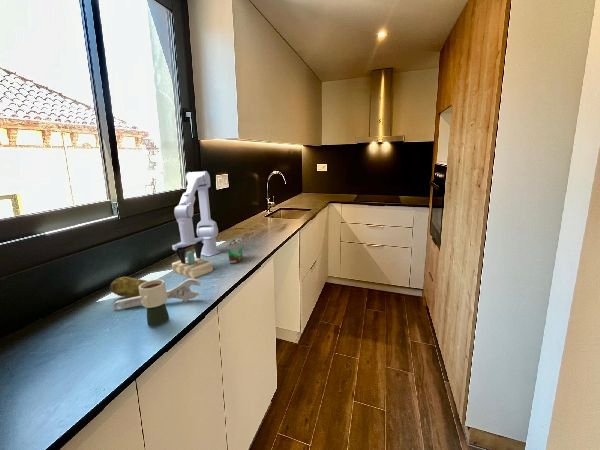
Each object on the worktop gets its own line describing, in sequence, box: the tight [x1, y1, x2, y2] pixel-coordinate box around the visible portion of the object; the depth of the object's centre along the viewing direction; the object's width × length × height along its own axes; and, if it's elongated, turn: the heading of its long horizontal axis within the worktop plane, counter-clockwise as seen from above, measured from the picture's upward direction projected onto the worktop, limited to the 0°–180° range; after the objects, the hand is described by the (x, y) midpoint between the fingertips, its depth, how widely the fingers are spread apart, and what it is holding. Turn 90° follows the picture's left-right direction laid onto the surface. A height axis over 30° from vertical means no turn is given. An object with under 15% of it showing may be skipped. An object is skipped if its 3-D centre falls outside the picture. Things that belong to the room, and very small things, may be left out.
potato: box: [109, 276, 148, 298], centre depth 107 cm, size 8×13×8 cm, turn 98°
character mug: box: [139, 279, 170, 327], centre depth 88 cm, size 11×7×13 cm, turn 4°
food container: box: [226, 237, 244, 265], centre depth 140 cm, size 12×6×10 cm, turn 179°
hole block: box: [171, 257, 214, 279], centre depth 130 cm, size 16×10×4 cm, turn 53°
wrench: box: [112, 277, 201, 311], centre depth 100 cm, size 8×2×30 cm
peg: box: [186, 251, 196, 265], centre depth 129 cm, size 3×3×9 cm
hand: (191, 260), depth 129 cm, fingers open, 7 cm apart
